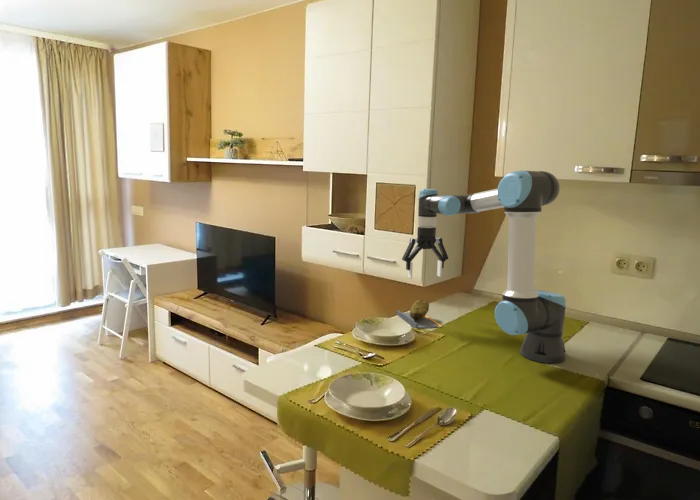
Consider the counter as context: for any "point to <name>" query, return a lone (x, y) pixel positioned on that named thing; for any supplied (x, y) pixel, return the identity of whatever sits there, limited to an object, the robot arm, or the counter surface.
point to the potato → (419, 309)
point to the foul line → (433, 321)
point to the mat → (416, 321)
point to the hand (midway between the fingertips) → (424, 276)
